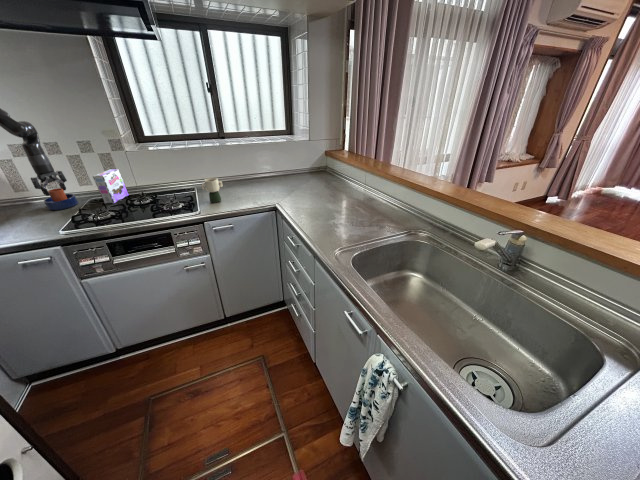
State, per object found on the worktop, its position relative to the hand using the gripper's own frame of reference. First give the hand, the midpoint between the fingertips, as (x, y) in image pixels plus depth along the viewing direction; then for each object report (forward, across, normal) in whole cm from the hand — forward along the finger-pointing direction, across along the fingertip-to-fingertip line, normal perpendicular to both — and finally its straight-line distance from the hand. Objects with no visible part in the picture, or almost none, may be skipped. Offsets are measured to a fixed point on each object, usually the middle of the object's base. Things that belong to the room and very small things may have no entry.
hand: (56, 192), depth 147 cm
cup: (+8, 0, 0) cm, 8 cm away
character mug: (+8, -24, +82) cm, 86 cm away
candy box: (+8, -15, +22) cm, 27 cm away
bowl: (+8, 0, 0) cm, 8 cm away
